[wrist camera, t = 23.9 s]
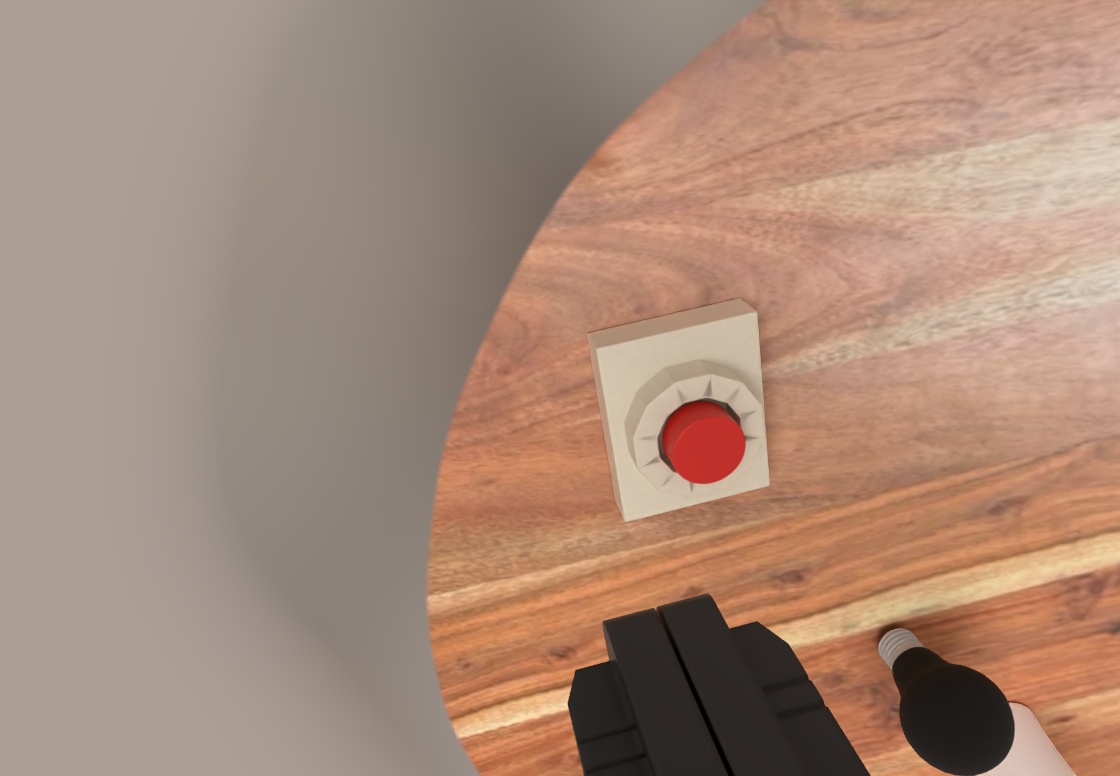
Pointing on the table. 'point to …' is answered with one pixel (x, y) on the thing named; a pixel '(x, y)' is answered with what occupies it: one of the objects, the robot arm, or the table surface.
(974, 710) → the light bulb
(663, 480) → the button block
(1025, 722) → the cosmetic bottle
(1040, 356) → the table surface
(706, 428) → the button
